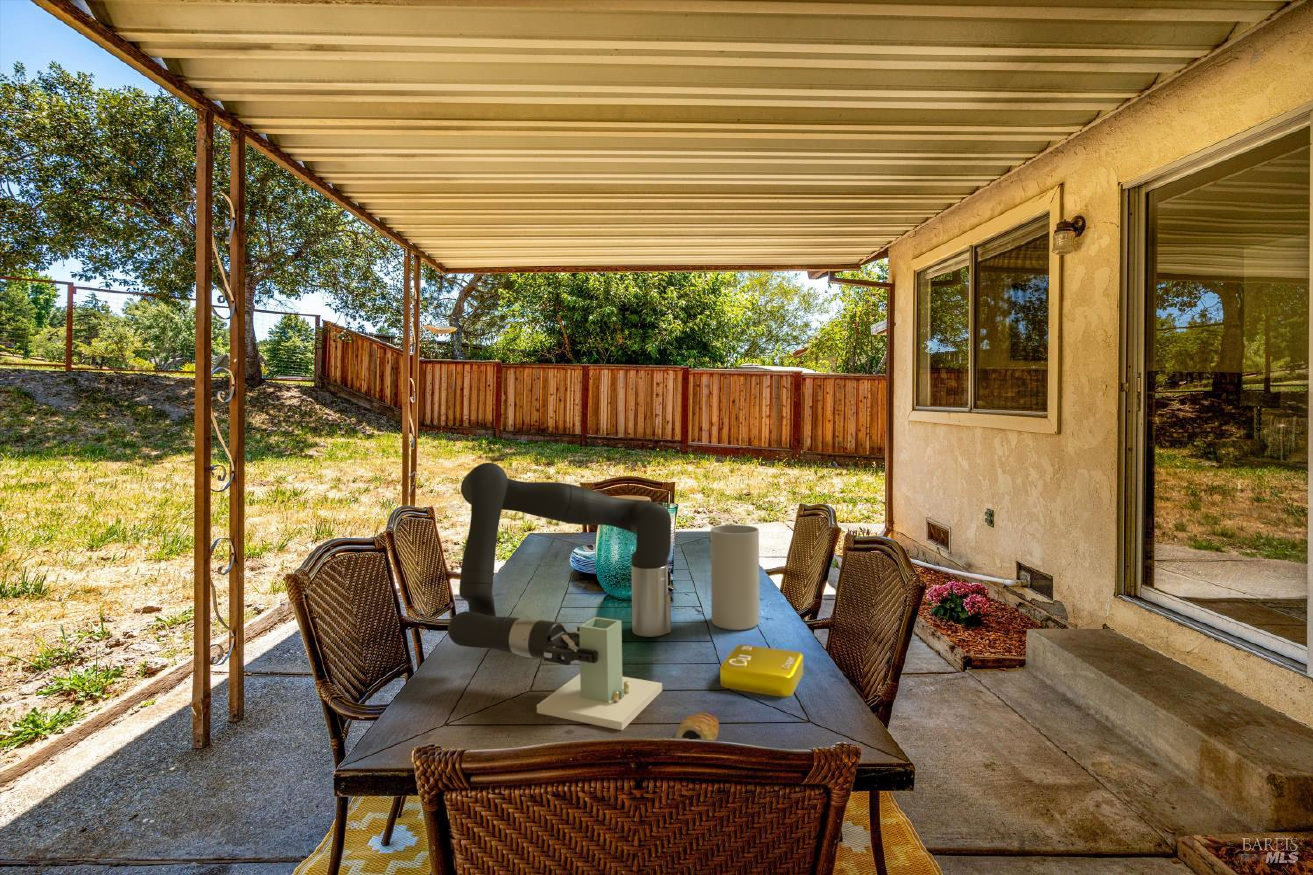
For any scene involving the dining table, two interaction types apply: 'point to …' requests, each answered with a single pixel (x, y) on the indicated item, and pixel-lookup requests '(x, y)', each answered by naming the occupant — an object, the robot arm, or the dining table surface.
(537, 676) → the dining table surface
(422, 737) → the dining table surface
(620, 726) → the base plate
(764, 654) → the element tile
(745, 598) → the cylinder vase
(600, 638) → the hollow square tube
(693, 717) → the pastry
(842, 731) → the dining table surface
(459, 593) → the robot arm
